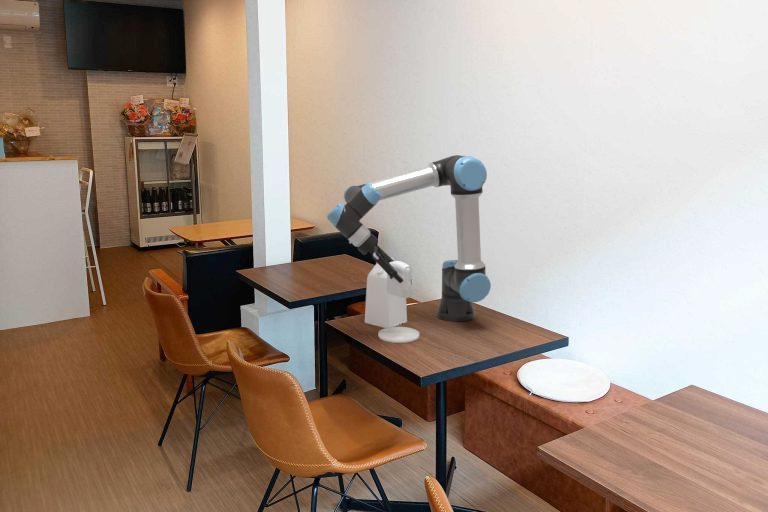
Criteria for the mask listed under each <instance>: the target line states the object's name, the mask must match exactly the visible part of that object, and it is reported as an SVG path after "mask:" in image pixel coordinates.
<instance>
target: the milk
mask: <svg viewBox="0 0 768 512" xmlns="http://www.w3.org/2000/svg"><path fill="white" fill-rule="evenodd" d="M389 257H390V256H389ZM390 258H391V259H393V260H394V261H395V259H394V257H390ZM366 278H367V279H366V289H365V290H366V291H365V292H366V294H365V309H364V310H365V313H364V323H365V324H368V325H373V326H377V327H379V328H383V329H384V328H389V327H398V326H400V325H402V323H403V324H405V323H408V313H407V311H408V309H407V298H403V297H399V296H395V295H392V294H389V293H388V292H387V273H386V272H385V271H384V270H383V268H382V267H381V266H380V265H379V264H378V263H377V262H376V264H375V265H374V266H373V268H372V269H371V270H370V272H369V273H368V274H367V277H366ZM399 324H400V325H399Z"/></svg>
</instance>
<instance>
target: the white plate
mask: <svg viewBox="0 0 768 512" xmlns="http://www.w3.org/2000/svg"><path fill="white" fill-rule="evenodd" d="M377 332H378V338H379V339H380V340H382V341H384V342H387V343H393V344H406V343H412V342H416V341H418V340H419V338H420V332H419V331H418V330H417V329H414V328H412V327H406V326H395V327H389V328H383V329H380V330H379V331H377Z"/></svg>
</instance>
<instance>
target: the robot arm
mask: <svg viewBox="0 0 768 512" xmlns="http://www.w3.org/2000/svg"><path fill="white" fill-rule="evenodd" d="M487 172H488V171H487V168H486V166H485V164H484V163H483V162H482V161H481V160H480V159H478V158H476V157H473V156H471V155H469V156H467V155H457V154H455V155H451V156H448V157H444V158H442V159H438V160H436V161H432V162H429V163H428V165H427V166H425V167H421V168H418V169H414V170H413V169H412V170H409V171H407V172H403V173H399V174H396V175H392V176H388V177H385V178H382V179H377V180H375V181H371V182H367V183H364V184H359V185H350V186H348V187H347V188H346V189H345V190H344V193H343V199H344V201H345V204H343V203H341V202H339V203H337V205H336V206H335V207H334V208H333V209H331V211H329V213H327V216H326V217H327V220H328V221H329V222H330V223H331V224H332V226H333V227H334V228H336V229H337V230H338V231H339V232H340V233H341V234H342V235H343V236H344V237H345V238H346V239H347V240H348V244H350V245H351V244H352V245H353V246H354V247H357V250H358V251H359V252H360V253H361V254H362V255H363V256H366V255H367V254H368V253H369V254H370V255H371V258H372V260H374V261H375V262H376V264H377V263H378V264H379V265H380V266H381V267H382V268H383V270H384V271H385V272H386V273H387V274H388V275H389V276H390V279H392V278H393V279H394V280H395V281H396V282H397V283H398V284H399V285H400V286H401V287H402V288H403V289H404V290H405V291H406V290H407V289H408V288H409V287H410V286H411V287H412V283H411V284H410V283H409V282H408V281H407V280H406V279H405V278H404V277H403V276H402V275H401V274H400V273H399V272H398V273H397V271H396V270H395V269H394V268H393V267H392V266H391V264H390V262H393V261H395V259H394V260H393V259H391V258H392V257H391V258H390V256H389V255H388V253H386V251H384V250H383V249H382V248H381V247H380V246H379V245H377V244H378V243H379V239H378V238H377V237H376V236H375V235H374V234H373V233H371V230H369V229H368V228H367V227H366V225H365V224H363V223H362V222H361V220H362V219H363V218H364V217H365V216H366V215H367V214H368V213H369V212H370V211H371V210H372V209H373V208H374V207H375V206H376V205H377V204H378V203H379V202H380V201H383V200H386V199H389V198H394V197H398V196H401V195H404V194H408V193H412V192H416V191H418V190H424V189H426V188H429V187H435V188H440V187H443V186H450V195H451V196H452V197H453V198H454V201H455V204H454V205H455V223H456V244H457V246H456V247H457V259H450V260H449V259H448V260H445V261H443V263H442V266H441V267H442V268H441V298H440V301H439V304H438V305H437V306H438V307H437V309H436V316H437V317H438V318H439V319H441V320H444V321H448V322H467V321H471V320H473V319H474V318H475V316H476V314H475V309H474V305H473V303H478V302H481V301H483V300H484V299H486V297H487V296H488V295H489V293H490V291H491V286H492V285H491V280H490V279H489V277H488V275H487V274H486V263H484V262H483V261H482V251H481V228H480V200H479V197H480V196H481V195H482V194H483V193H484V192H483V186H484V185H485V183H486V181H487V177H488V175H487Z"/></svg>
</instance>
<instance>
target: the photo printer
mask: <svg viewBox="0 0 768 512" xmlns="http://www.w3.org/2000/svg"><path fill="white" fill-rule="evenodd" d="M390 264H391V266H392V267H393V268H394V269H395V270H396V271H397V273H398V272H399V273H400V274H401V275H402V276H403V277H404V278H405V279H406V280H407V281H408V282H409V283H410V284H411V286H410V287H409V288H408V289H407V290H406V291H405V290H404V289H403V288H402V287H401V286H400V285H399V284H398V283H397V282H396V281H395V280H394V279H393V278H392V279H390V276H389V275H388V274H387V292H388V293H389V294H392V295H395V296H399V297H403V298H406V299H409V298H411V297H412V267H411V266H410V264H407V263H406V262H403V261H400V260H394V261H393V262H390Z"/></svg>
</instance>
